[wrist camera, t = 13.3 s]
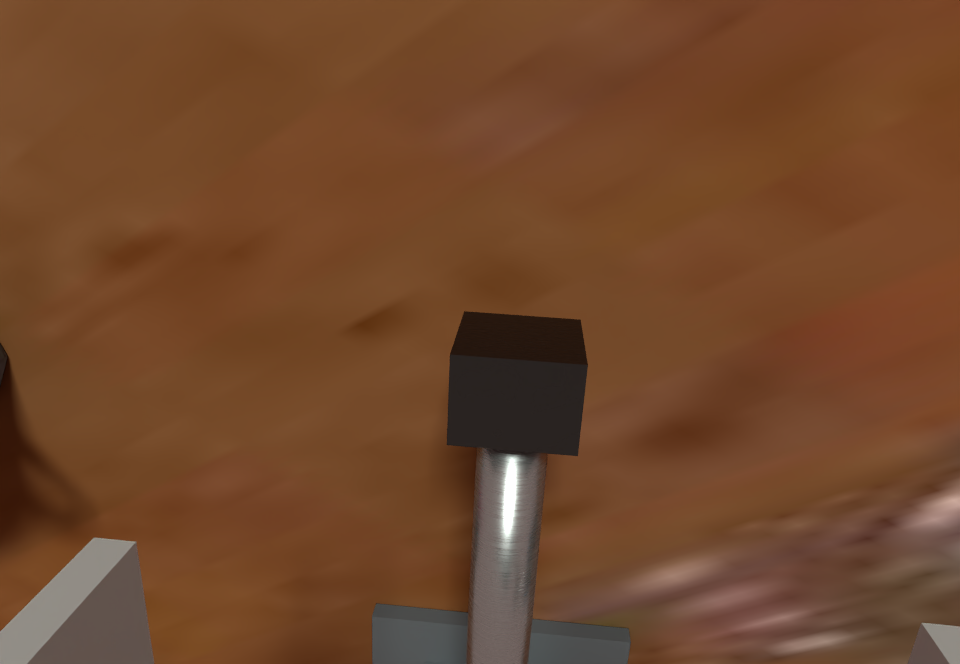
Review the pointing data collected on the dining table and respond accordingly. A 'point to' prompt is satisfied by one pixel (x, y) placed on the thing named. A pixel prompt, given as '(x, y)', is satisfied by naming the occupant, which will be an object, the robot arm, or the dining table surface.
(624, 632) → the shaft stand
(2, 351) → the ceramic cup
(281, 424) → the dining table surface
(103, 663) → the robot arm
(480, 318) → the shaft
